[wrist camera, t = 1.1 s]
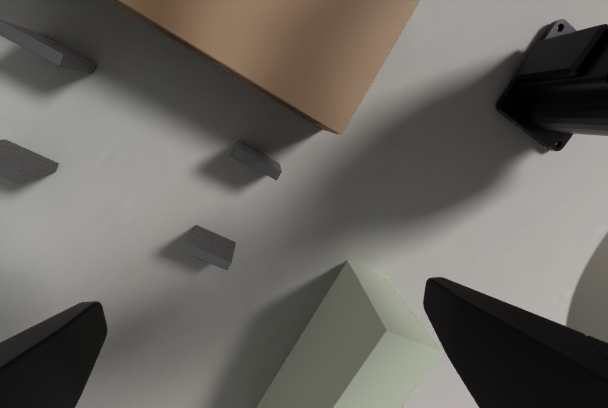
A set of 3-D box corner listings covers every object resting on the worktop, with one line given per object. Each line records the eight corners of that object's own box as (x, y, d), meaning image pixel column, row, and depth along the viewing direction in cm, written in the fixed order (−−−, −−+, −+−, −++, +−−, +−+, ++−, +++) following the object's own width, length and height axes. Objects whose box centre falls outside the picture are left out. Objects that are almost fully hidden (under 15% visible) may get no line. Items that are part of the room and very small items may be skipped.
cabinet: (388, 13, 18) (431, -21, 14) (250, 257, 22) (247, 297, 17) (84, -221, 14) (-10, -394, 9) (-27, 135, 17) (-135, 145, 13)
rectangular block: (346, 259, 23) (386, 330, 16) (399, 283, 25) (459, 359, 17) (246, 421, 27) (239, 542, 19) (296, 434, 28) (308, 552, 21)
